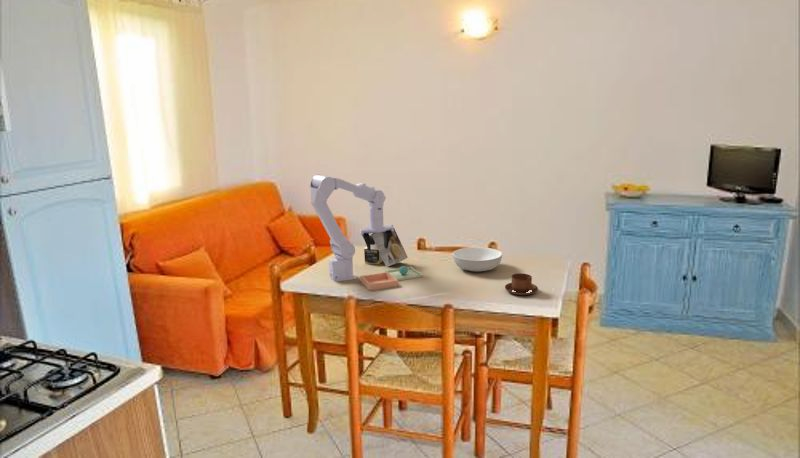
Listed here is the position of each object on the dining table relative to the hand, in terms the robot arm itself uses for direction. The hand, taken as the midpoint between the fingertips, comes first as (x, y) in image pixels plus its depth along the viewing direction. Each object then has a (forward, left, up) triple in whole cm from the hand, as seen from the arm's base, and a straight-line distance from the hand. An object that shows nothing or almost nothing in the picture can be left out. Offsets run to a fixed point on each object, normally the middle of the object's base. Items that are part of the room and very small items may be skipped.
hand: (377, 249), depth 233 cm
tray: (+7, -12, -9) cm, 16 cm away
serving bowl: (+39, -17, -10) cm, 43 cm away
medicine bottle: (+3, +12, -10) cm, 16 cm away
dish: (-6, -18, -9) cm, 21 cm away
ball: (+7, -12, -9) cm, 16 cm away
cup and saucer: (+39, -48, -10) cm, 63 cm away
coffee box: (+10, +2, -8) cm, 13 cm away
